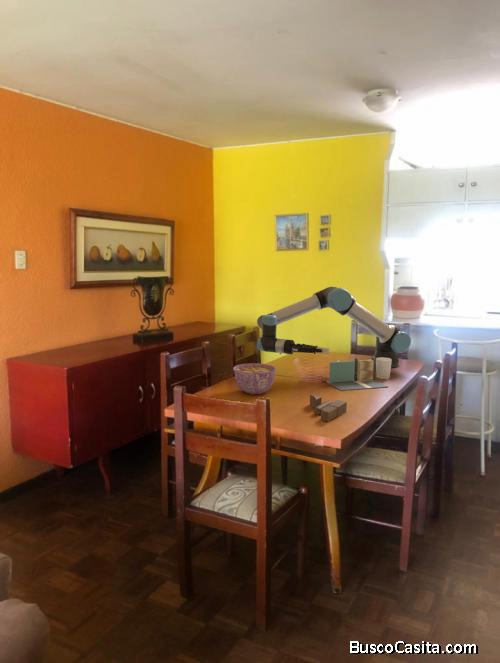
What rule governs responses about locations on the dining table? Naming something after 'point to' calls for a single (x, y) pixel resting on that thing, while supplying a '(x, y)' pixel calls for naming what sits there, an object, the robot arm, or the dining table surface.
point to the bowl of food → (254, 377)
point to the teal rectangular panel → (342, 371)
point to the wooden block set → (327, 408)
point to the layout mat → (357, 385)
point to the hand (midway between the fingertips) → (328, 351)
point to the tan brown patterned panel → (364, 369)
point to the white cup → (383, 368)
